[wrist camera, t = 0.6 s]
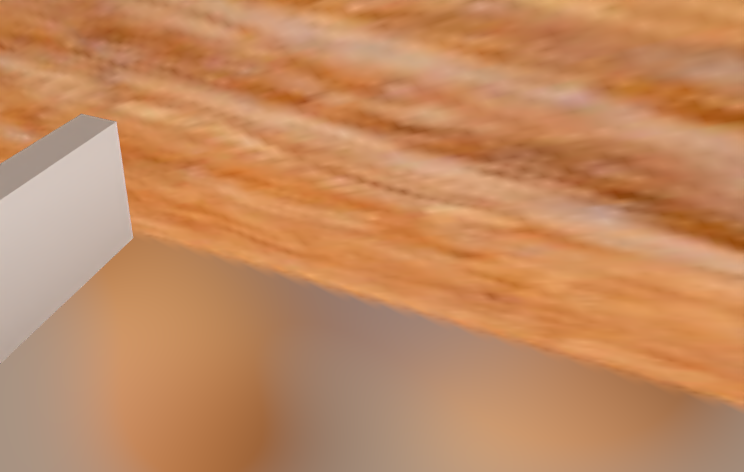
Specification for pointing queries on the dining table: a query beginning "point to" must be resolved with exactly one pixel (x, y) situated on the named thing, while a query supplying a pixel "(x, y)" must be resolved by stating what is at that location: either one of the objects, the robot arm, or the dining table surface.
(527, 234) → the dining table surface
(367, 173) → the dining table surface
